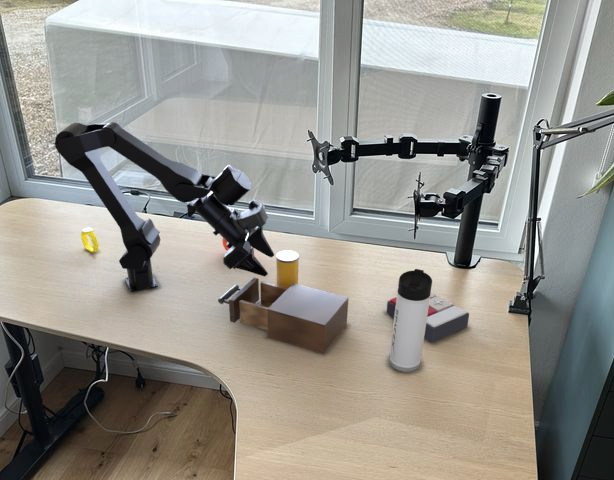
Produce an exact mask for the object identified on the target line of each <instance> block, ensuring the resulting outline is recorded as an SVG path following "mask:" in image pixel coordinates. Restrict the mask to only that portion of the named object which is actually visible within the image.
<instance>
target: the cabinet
mask: <svg viewBox="0 0 614 480" xmlns="http://www.w3.org/2000/svg"><path fill="white" fill-rule="evenodd" d="M348 310H349V297H348V296H345V295H341V294H337V293H333V292H329V291H327V290H326V291H325V290H321V289H318V288H314V287H311V286H306V285H302V284H299V283H298V284H295V283H293V284H292V285H291V286H290V287H289V288H288V289H287V290H286V291H285V292H284V293H283V294H282V295H281V296H280V297H279V298H278V299H277V300H276V301H275V302H274V303H273V304H272V305H271V306H270V307H269V308H268V309H267V311H268V312H267V315H268V330H267V338H268V339H271V340H275V341H279V342H281V343H282V342H283V343H285V344H289V345H291V346H296V347H299V348H301V349H305V350H308V351H312V352H315V353H319V354H323V355H325V353H326V352H327V351H328V349H330V347H331V346H332V344H333V343H334V342H335V341H336V339H337V338H338V337H339V335H341V333H342V332H343V331H344V329H345V328H346V327H347V324H348V314H349V313H348V312H349V311H348Z"/></svg>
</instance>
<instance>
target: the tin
mask: <svg viewBox="0 0 614 480" xmlns="http://www.w3.org/2000/svg"><path fill="white" fill-rule="evenodd" d="M275 259H276V285H278V286H282V287H286V288H289V287H290V286H291V285H292V284H293V283H295V284H299V259H300V255H299V253H298V252H296V251H294V250H289V249H288V250H281V251H278V252H277V253H276V254H275Z"/></svg>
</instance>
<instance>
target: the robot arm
mask: <svg viewBox="0 0 614 480" xmlns="http://www.w3.org/2000/svg"><path fill="white" fill-rule="evenodd" d="M54 147H55V149H56V151H57V152H58V154H59V155H60V156H61V157H62V158H63V159H64V161H66V163H67V164H69V165H70V166H71V167H73V168H75V169H76V170H78V171H79V172H80V173H82V174H83V176H84V177H85V179H86V180H87V182H88V183H89V184H90V187H92V189H93V191H94V192H95V194H96V195H97V196H98V198H99V199H100V202H102V204H103V205H104V207H105V208H106V209H107V211H108V213H109V214H110V216H111V217H112V218H113V220H114V222H115V223H116V224H117V226H118V228H119V230H120V233H121V238H122V243H123V246H124V247H125V249H126V250H125V252H124V253H123V254H122V255H121V257H120V259H119V260H118V263H119V264H120V266H121V268H122V269H124V270H126V274H127V277H125V279H124V280H125V283H126V286H127V288H128V290H129V291H130V292H131V293H134V292H140V291H144V290H149V289H154V288H158V283H157V281H156V280H155V277H154V275H153V268H152V260H151V258H152V257H153V255H154V254H155V253H156V251H157V249H158V248H159V247H160V245H161V236H160V233H161V231H160V230H158V228H157V227H156V226H155V224H154V222H153V220H152V219H151V218H147V219H146V220H144V219H143V218H142V217H140V216H139V215H138V214H137V213H136V211H135V210H134V207H133V206H132V205H131V204H130V202H129V200H128V199H127V197H126V196H125V194H124V193H123V191H122V190H121V188H120V187H119V185H118V183H116V181H115V179H114V178H113V177H112V175H111V174H110V172H109V170H108V168H106V165H104V163H103V161H102V159H101V154H100V149H102V148H110V149H112V150H113V151H114V152H116V153H118V154H119V155H121V156H123V157H124V158H125V159H127V160H129V162H132V163H133V164H134V165H136V166H138V167H139V168H141V169H142V170H144V171H145V172H147V174H149V175H151V176H152V177H154V178H156V180H158V181H159V182H160V183H161V185H162V187H163V188H164V190H165V191H166V192H168V194H169V195H171V196H172V197H173V198H174V199H176V201H178V202H180V203H184V204H186V208H187V218H191V217H193V215H195V214H196V213H197V214H198V215H199V216H200V217H201V218H202V220H204V221H205V222H206V223H207V224H208V225H209V226H210V227H211V228H212V229H213V231H212V234H213V235H214V236H218V235H219V236H221V237H222V239H223V238H224V239H225V240H226V241H227V242H228V243H227V245H226V246H227V247H228V248H229V250H228V251H227V250H226V252H225V254H224V256H223V260H222V261H223V265H224V266H225V267H226V268H227V269H228V270H232V269H233V270H236V269H237V270H241V271H245V272H248V273H251V274H255V275H258V276H261V277H267V276H268V274H269V272H268V271H267V269H266V268H265V267H264V266H263V264H262V263H261V262H260V261H259V260H258V259H257V257H255V250H256V251H258V252H259V253H262V254H263V255H265V256H267V257H269V258H273V257H274V256H275V253H274V251H273V249H272V247H271V246H270V244H269V242H268V240H267V238H266V236H265V234H264V225H266V224H267V220H268V219H269V216H268V214H267V212H266V205H264V204H263V203H262V202H260V201H258V200H257V199H256V198H255V199H252V200H250V201H249V203H248V208H245V210H244V211H240V210H239V209H238V208H233V209H231V208H230V207H229V206H234V205H235V204H236V203H237V202H239V201H240V200H241V199H242V198H243V197H244V196H245V195H246V194H247V193H249V191H251V190H252V188H253V186H252V183H251V180H250V178H249V177H248V176H247V175H246V174H245V172H243V171H241V170H239V169H238V168H235V167H232V165H231V164H227V165H226V166H225V168H223V170H222V172H220V173H219V174H218V175H217V176H216V175H212V174H207V173H202V172H200V171H199V170H197V169H196V168H194V167H192V166H190V165H187V164H185V163H183V162H179V161H174V160H172V159H169V158H167V157H166V156H164V155H163V154H162V153H159V152H158V151H157V150H155V149H154V148H153V147H151V146H150V145H148V144H146V143H145V142H143V141H142V140H140V139H139V138H138V137H136V136H135V135H133V134H132V133H130V132H129V131H126V129H124V128H123V127H122V125H120V124H119V123H118V122H115V121H111V122H107V123H91V124H83V123H81V122H73V123H71V124H69V125H68V126H66V127H65V128H64V129H63V130H61V131H60V132H58V133H57V134H56V136H55V138H54Z"/></svg>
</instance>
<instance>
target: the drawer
mask: <svg viewBox="0 0 614 480" xmlns="http://www.w3.org/2000/svg"><path fill="white" fill-rule="evenodd" d="M287 289H288V288H286V287H282V286H278V285H277V284H275V283H270V282H266V281H263V280H262V281H259V278H257V277H252V279H251V280H249V281H248V282H247V283H246V284H245V285H243V287H240V286H239V285H238V284H234V285H233V286H231V288H229V289H228V290H227V291H226V292H225V293H223V295H221V296H220V297H219V298H218V300H217V302H218V303H219V304H220V305H223V304H227V305H228V310H229V311H228V312H229V322H230V323H232V324H236V322H237V321H239V320H240V323H241V324H245V325H248V326H252V327H254V328H259V329H262V330H265V331H268V315H267V312H268V311H267V309H268V308H269V307H270V306H271V305H272V304H273V303H274V302H275V301H276V300H277V299H278V298H279V297H280V296H281V295H282V294H283V293H284V292H285V291H286V290H287Z"/></svg>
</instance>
